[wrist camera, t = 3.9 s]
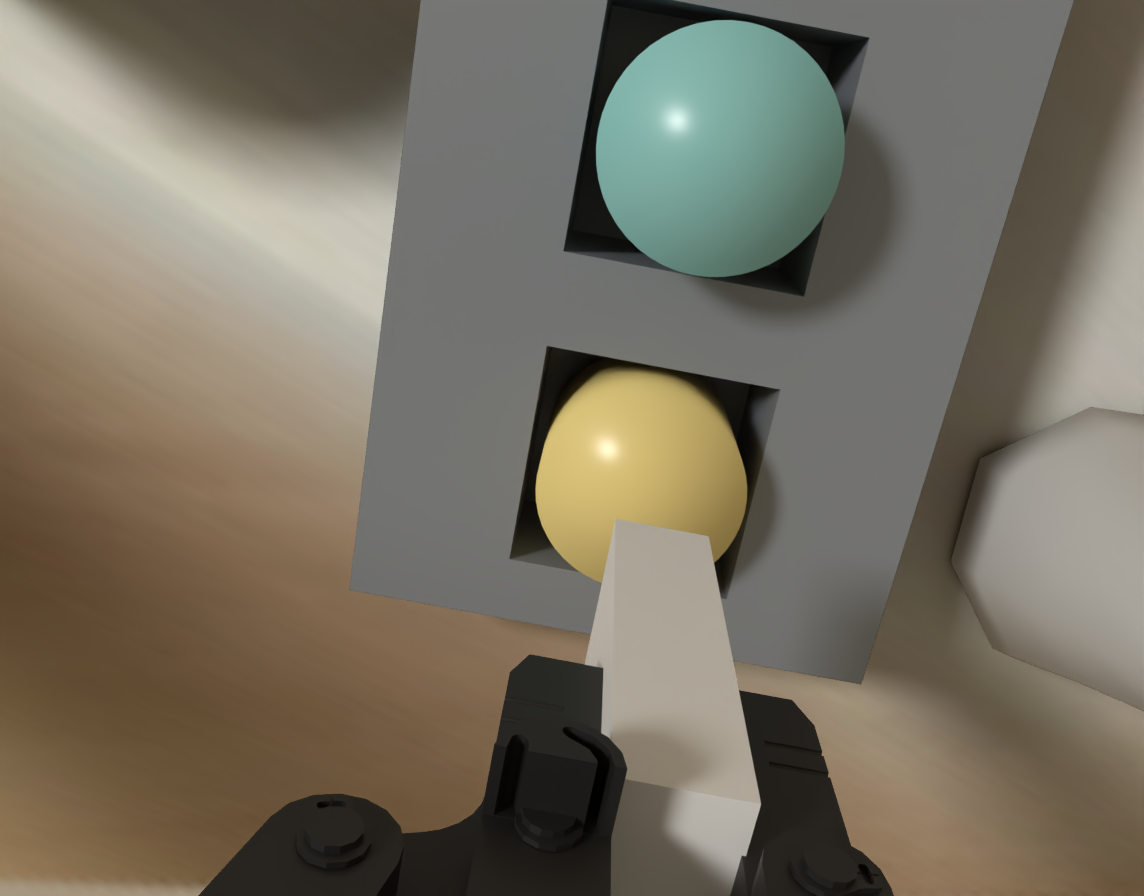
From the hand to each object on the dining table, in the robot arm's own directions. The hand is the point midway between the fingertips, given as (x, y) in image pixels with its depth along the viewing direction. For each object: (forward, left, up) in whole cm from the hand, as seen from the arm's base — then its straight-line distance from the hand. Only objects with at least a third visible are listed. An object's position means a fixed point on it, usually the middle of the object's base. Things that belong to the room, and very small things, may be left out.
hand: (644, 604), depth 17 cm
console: (0, +7, -10) cm, 12 cm away
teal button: (0, +7, -8) cm, 10 cm away
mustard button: (0, 0, -9) cm, 9 cm away
